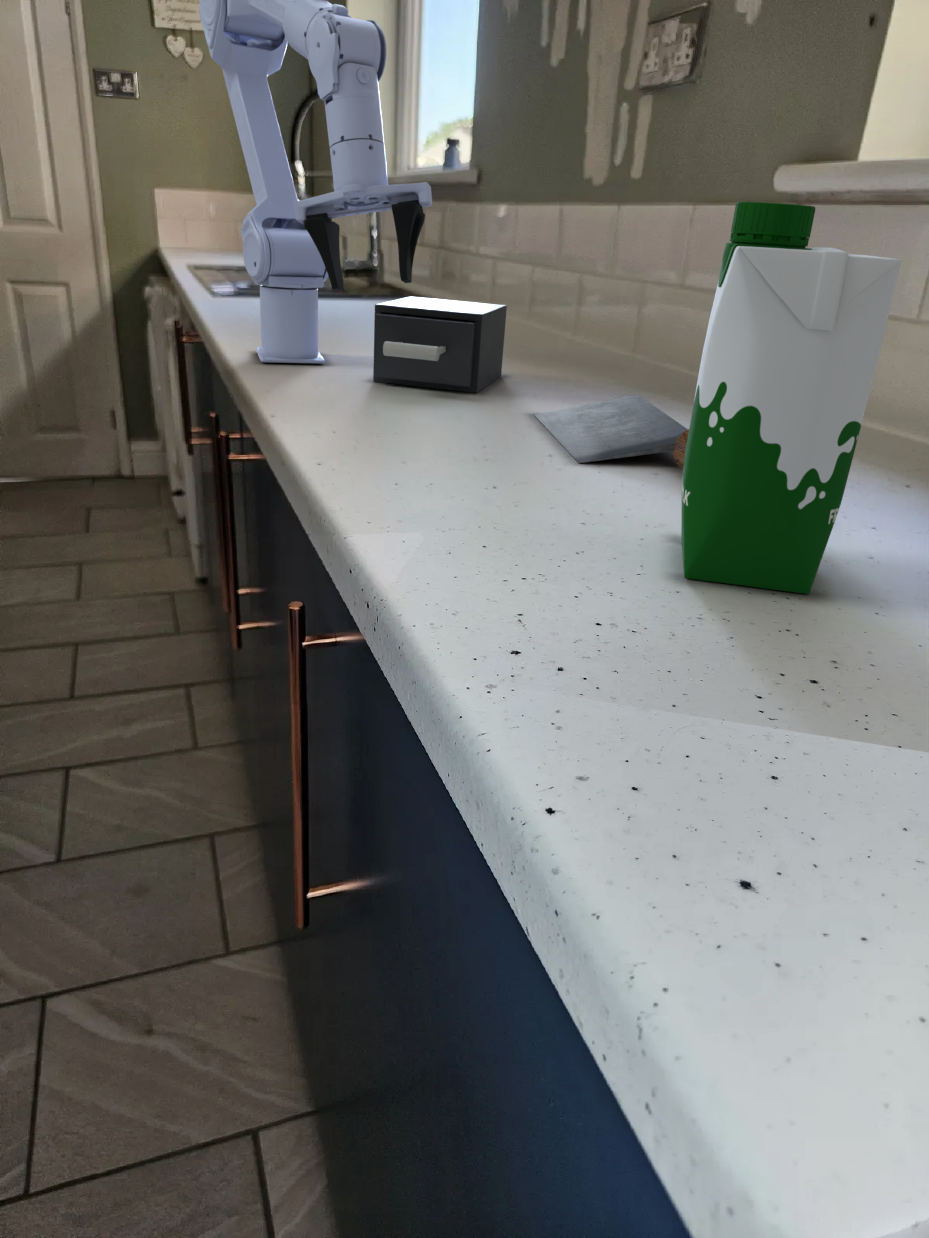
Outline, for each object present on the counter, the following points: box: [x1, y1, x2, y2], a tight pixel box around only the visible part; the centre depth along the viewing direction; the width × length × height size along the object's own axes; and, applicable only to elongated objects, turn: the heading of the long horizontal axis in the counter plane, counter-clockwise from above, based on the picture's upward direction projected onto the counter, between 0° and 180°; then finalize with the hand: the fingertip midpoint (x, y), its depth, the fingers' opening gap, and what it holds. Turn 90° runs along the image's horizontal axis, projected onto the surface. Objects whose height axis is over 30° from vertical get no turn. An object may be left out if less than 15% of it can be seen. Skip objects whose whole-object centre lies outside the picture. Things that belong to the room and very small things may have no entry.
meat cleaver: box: [534, 394, 689, 470], centre depth 76 cm, size 34×11×4 cm, turn 8°
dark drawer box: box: [372, 313, 475, 387], centre depth 101 cm, size 17×11×7 cm, turn 166°
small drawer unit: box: [372, 295, 508, 394], centre depth 105 cm, size 14×13×9 cm
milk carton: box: [680, 201, 903, 595], centre depth 49 cm, size 9×9×20 cm
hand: (371, 286), depth 94 cm, fingers open, 7 cm apart
